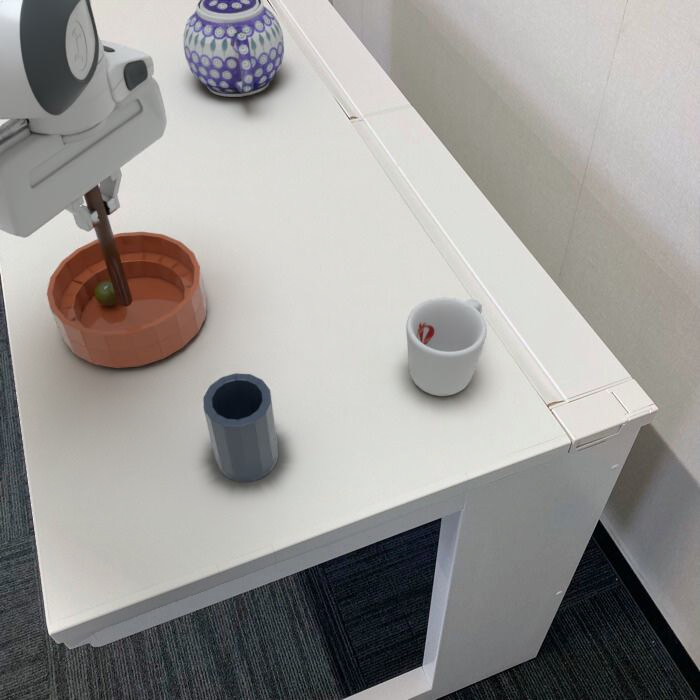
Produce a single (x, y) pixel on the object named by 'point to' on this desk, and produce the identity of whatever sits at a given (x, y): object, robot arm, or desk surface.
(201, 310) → the bowl
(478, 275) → the desk surface
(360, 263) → the desk surface
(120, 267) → the stick
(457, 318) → the cup
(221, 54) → the teapot
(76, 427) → the desk surface
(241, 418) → the crock
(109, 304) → the bead
